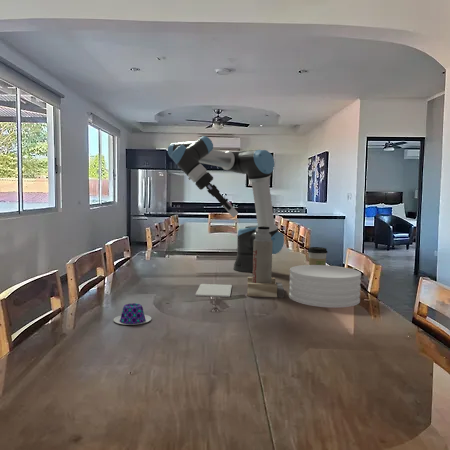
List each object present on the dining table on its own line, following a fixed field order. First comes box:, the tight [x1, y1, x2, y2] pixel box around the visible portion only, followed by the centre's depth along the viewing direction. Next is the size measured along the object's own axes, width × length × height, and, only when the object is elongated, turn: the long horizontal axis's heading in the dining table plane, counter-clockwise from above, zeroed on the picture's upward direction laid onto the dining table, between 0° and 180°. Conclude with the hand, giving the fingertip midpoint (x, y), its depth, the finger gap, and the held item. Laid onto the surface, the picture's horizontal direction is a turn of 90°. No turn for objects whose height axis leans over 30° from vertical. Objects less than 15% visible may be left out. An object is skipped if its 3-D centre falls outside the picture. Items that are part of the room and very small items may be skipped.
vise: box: [246, 276, 285, 298], centre depth 180 cm, size 15×15×5 cm
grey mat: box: [195, 283, 233, 298], centre depth 181 cm, size 20×14×1 cm
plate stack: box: [288, 264, 362, 309], centre depth 172 cm, size 28×28×12 cm
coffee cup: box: [307, 246, 329, 265], centre depth 215 cm, size 10×10×15 cm
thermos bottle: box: [252, 226, 273, 284], centre depth 179 cm, size 8×8×28 cm
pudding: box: [113, 302, 152, 326], centre depth 137 cm, size 12×12×5 cm
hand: (235, 214), depth 178 cm, fingers open, 13 cm apart
